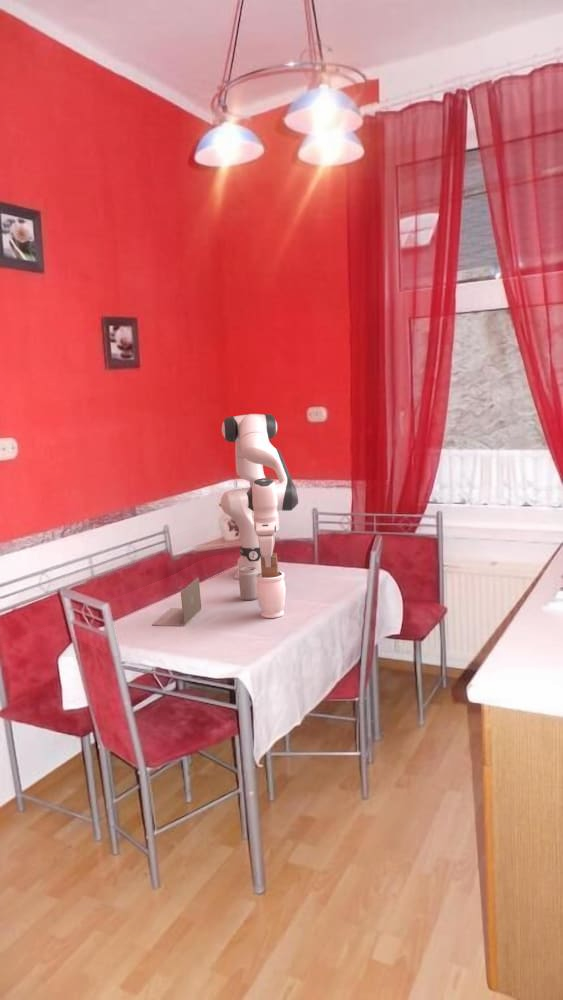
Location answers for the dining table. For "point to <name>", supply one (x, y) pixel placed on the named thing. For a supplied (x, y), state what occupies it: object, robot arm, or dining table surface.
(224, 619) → the dining table surface
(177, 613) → the laptop
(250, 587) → the can
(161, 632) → the dining table surface
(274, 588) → the jar
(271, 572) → the walnut block
